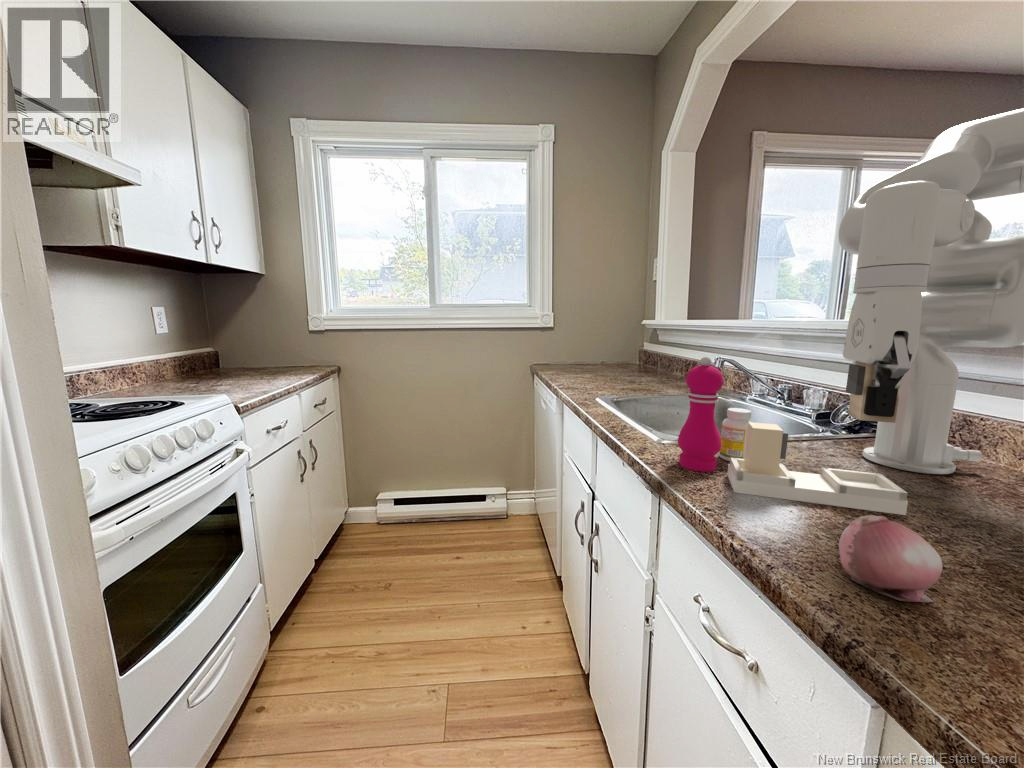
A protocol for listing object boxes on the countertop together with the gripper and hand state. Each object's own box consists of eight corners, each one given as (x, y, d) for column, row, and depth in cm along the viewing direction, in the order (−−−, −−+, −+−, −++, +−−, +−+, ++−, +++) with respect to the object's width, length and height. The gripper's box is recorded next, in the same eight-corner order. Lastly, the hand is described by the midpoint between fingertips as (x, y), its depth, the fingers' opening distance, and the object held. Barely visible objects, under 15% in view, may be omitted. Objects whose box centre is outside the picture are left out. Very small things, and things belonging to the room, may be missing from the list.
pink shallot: (830, 566, 46) (846, 504, 47) (925, 602, 42) (942, 533, 42) (833, 579, 40) (851, 507, 40) (945, 623, 35) (965, 541, 35)
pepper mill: (724, 474, 71) (735, 359, 68) (680, 471, 72) (688, 358, 69) (713, 460, 78) (722, 355, 75) (673, 458, 79) (680, 354, 76)
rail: (879, 493, 64) (888, 430, 62) (905, 515, 56) (917, 445, 55) (727, 475, 71) (732, 418, 69) (734, 492, 64) (740, 429, 62)
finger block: (881, 416, 60) (889, 362, 59) (895, 422, 57) (904, 365, 56) (841, 413, 62) (848, 361, 61) (852, 419, 58) (860, 363, 57)
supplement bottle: (731, 464, 76) (735, 413, 75) (712, 454, 82) (716, 407, 80) (757, 462, 77) (762, 412, 76) (737, 453, 82) (741, 406, 81)
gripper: (833, 287, 65) (819, 400, 68) (885, 276, 50) (864, 422, 53) (892, 286, 63) (875, 403, 66) (967, 274, 47) (940, 428, 50)
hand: (870, 411), depth 59 cm, fingers closed on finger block, 4 cm apart
